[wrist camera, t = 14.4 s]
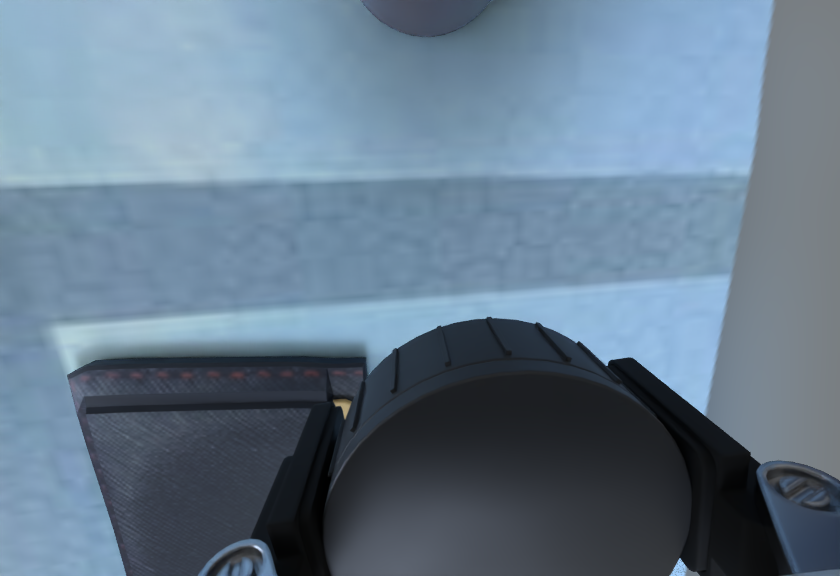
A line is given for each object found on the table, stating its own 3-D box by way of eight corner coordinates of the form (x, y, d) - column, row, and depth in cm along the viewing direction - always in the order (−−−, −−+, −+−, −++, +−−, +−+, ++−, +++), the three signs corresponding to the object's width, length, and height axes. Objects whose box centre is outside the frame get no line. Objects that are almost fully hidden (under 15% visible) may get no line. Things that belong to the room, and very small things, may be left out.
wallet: (41, 374, 18) (376, 373, 18) (75, 355, 19) (378, 355, 20) (126, 671, 23) (379, 661, 24) (146, 635, 25) (381, 627, 26)
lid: (282, 402, 9) (239, 484, 7) (560, 260, 9) (623, 294, 6) (424, 593, 11) (430, 710, 9) (660, 490, 11) (738, 585, 8)
